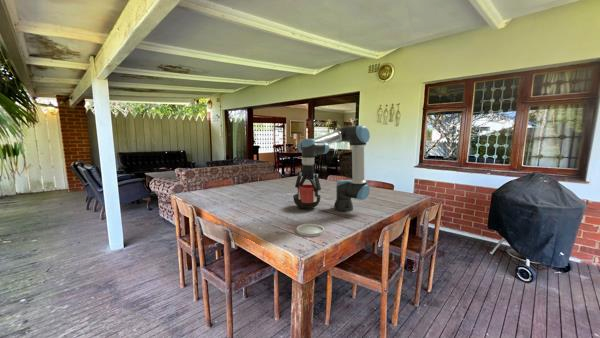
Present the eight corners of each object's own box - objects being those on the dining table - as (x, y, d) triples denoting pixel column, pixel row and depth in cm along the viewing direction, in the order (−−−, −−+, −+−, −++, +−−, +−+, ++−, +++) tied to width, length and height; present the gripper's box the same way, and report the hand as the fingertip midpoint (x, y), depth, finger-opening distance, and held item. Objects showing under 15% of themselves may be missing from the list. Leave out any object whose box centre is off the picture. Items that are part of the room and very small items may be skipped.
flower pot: (300, 204, 154) (300, 188, 153) (297, 199, 165) (297, 184, 164) (317, 203, 156) (318, 187, 155) (313, 199, 167) (314, 184, 165)
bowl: (288, 206, 213) (288, 194, 212) (312, 203, 223) (312, 191, 221) (300, 213, 194) (300, 200, 193) (325, 210, 203) (325, 197, 202)
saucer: (306, 224, 170) (306, 222, 170) (329, 230, 161) (329, 227, 160) (291, 232, 156) (291, 229, 156) (315, 238, 147) (315, 235, 147)
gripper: (289, 163, 161) (289, 198, 164) (320, 166, 148) (320, 204, 151) (296, 162, 167) (296, 196, 170) (327, 165, 154) (326, 201, 157)
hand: (307, 200), depth 160 cm, fingers closed on flower pot, 10 cm apart
